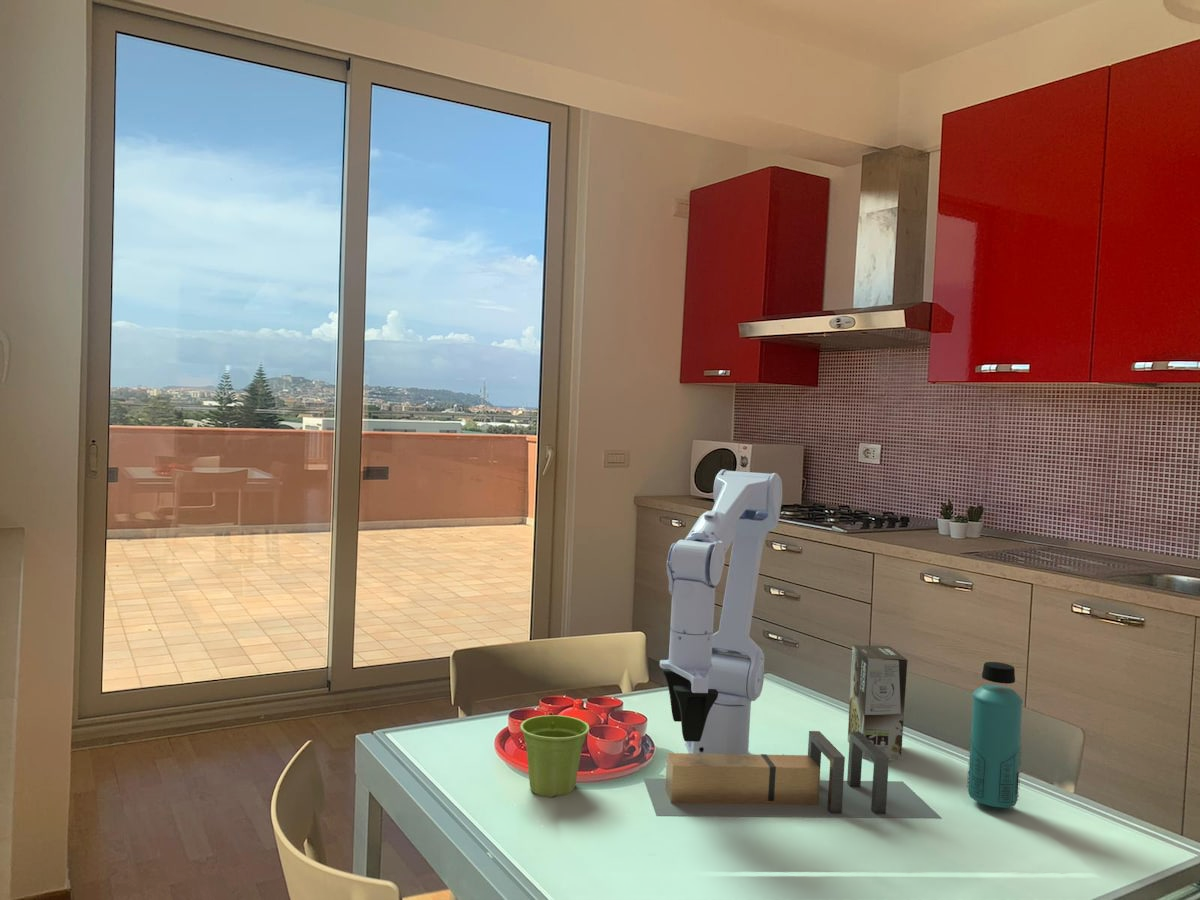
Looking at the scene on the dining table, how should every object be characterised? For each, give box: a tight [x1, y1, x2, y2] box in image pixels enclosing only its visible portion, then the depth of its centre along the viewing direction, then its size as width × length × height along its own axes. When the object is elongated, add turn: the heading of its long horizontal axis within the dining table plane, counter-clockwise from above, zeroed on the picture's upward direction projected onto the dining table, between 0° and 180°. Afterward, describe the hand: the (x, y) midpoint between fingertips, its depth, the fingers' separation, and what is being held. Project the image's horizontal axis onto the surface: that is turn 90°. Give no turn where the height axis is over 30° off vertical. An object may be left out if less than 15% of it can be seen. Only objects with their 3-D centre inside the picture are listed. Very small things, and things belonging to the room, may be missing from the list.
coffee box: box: [847, 644, 909, 761], centre depth 142 cm, size 9×6×16 cm
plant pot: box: [519, 714, 590, 798], centre depth 121 cm, size 9×9×9 cm
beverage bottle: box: [966, 661, 1023, 808], centre depth 122 cm, size 6×7×20 cm
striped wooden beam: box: [665, 752, 821, 805], centre depth 121 cm, size 20×5×5 cm, turn 95°
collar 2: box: [846, 732, 890, 814], centre depth 122 cm, size 2×10×8 cm, turn 5°
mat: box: [643, 777, 943, 819], centre depth 121 cm, size 38×12×1 cm, turn 95°
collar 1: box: [807, 730, 846, 814], centre depth 122 cm, size 2×10×8 cm, turn 5°
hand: (686, 730), depth 120 cm, fingers open, 7 cm apart
